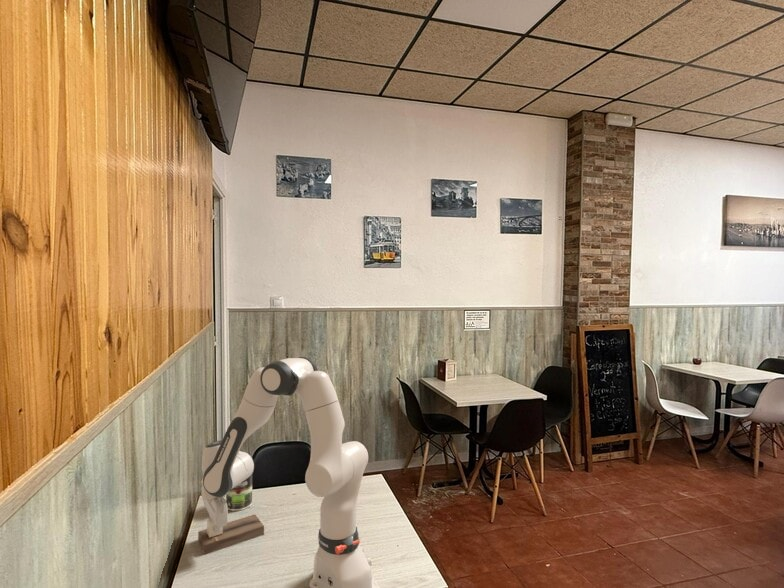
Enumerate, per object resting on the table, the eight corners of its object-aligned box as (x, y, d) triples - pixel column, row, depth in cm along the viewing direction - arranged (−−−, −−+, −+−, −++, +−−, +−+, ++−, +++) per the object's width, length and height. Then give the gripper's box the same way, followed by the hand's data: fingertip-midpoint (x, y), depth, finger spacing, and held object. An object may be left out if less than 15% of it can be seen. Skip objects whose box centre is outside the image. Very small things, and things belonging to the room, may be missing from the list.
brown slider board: (263, 534, 149) (264, 525, 149) (204, 554, 137) (204, 544, 137) (255, 522, 157) (255, 513, 157) (198, 540, 145) (198, 531, 146)
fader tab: (222, 533, 144) (223, 518, 144) (209, 537, 141) (209, 522, 141) (220, 528, 147) (220, 513, 147) (207, 532, 144) (207, 517, 144)
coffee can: (251, 509, 167) (252, 474, 167) (224, 512, 164) (224, 477, 164) (253, 497, 177) (253, 464, 177) (227, 500, 174) (227, 466, 174)
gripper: (233, 497, 138) (232, 539, 138) (217, 475, 154) (217, 513, 154) (212, 502, 134) (212, 545, 134) (199, 480, 150) (199, 518, 150)
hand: (214, 528), depth 144 cm, fingers closed on fader tab, 3 cm apart
